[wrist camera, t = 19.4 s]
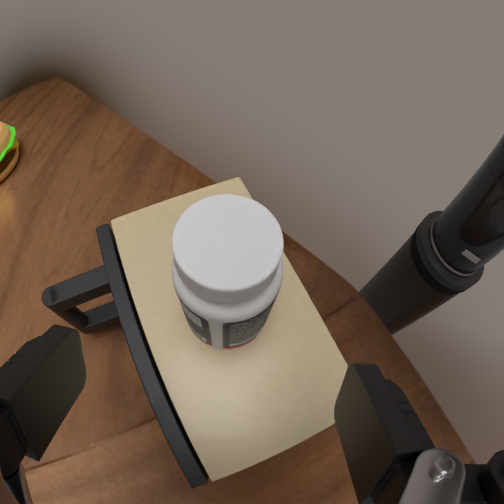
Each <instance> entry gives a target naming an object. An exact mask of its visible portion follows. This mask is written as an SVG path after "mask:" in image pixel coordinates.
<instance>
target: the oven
mask: <svg viewBox="0 0 504 504" xmlns="http://www.w3.org/2000/svg"><path fill="white" fill-rule="evenodd" d="M221 194H233V195H239V196H243V197H247V198H250V199H252V197H251V196H250V194H249V193H248V191H247V189H246V187H245V186H244V184H243V182H242V181H241V179H240V177H237V178H234V179H230V180H227V181H224V182H221V183H217V184H214V185H211V186H208V187H205V188H202V189H198V190H195V191H192V192H189V193H186V194H183V195H180V196H177V197H174V198H171V199H168V200H165V201H163V202H160V203H157V204H154V205H151V206H148V207H146V208H143V209H140V210H137V211H134V212H132V213H129V214H126V215H124V216H121V217H118V218H116V219H113V220H111V224H112V228H113V232H114V236H115V239H116V243H117V247H118V250H119V254H120V258H121V261H122V265H123V268H124V272H125V275H126V278H127V281H128V285H129V288H130V291H131V294H132V297H133V300H134V304H135V307H136V310H137V312H138V315H139V318H140V321H141V324H142V327H143V330H144V332H145V335H146V338H147V341H148V343H149V346H150V349H151V351H152V354H153V357H154V359H155V362H156V364H157V367H158V369H159V372H160V374H161V377H162V379H163V381H164V384H165V386H166V389H167V391H168V393H169V396H170V398H171V400H172V402H173V405H174V407H175V409H176V411H177V413H178V416H179V418H180V420H181V422H182V424H183V426H184V428H185V431H186V433H187V435H188V437H189V439H190V441H191V443H192V445H193V447H194V449H195V451H196V453H197V455H198V457H199V459H200V460H201V462H202V464H203V466H204V468H205V470H206V472H207V474H208V475H209V477H210V479H211V481H212V482H213V481H216V480H219V479H221V478H224V477H226V476H229V475H231V474H234V473H236V472H239V471H241V470H243V469H246V468H248V467H250V466H253V465H255V464H257V463H259V462H262V461H264V460H266V459H268V458H270V457H272V456H275V455H277V454H279V453H281V452H283V451H285V450H287V449H289V448H291V447H293V446H295V445H297V444H299V443H300V442H302V441H304V440H306V439H308V438H310V437H312V436H313V435H315V434H317V433H319V432H321V431H322V430H324V429H326V428H328V427H329V426H331V425H333V424H334V423H335V420H334V406H335V402H336V399H337V396H338V394H339V391H340V388H341V385H342V382H343V379H344V376H345V373H346V371H347V368H348V365H347V363H346V362H345V360H344V358H343V356H342V354H341V352H340V351H339V349H338V347H337V345H336V343H335V342H334V340H333V338H332V336H331V334H330V333H329V331H328V329H327V327H326V325H325V324H324V322H323V320H322V318H321V316H320V315H319V313H318V311H317V309H316V308H315V306H314V304H313V302H312V300H311V299H310V297H309V295H308V293H307V292H306V290H305V288H304V286H303V285H302V283H301V281H300V279H299V278H298V276H297V274H296V272H295V271H294V269H293V267H292V265H291V264H290V262H289V260H288V259H287V257H286V255H285V253H284V252H283V254H282V261H283V279H282V284H281V287H280V290H279V293H278V295H277V297H276V300H275V302H274V304H273V307H272V309H271V311H270V314H269V316H268V318H267V321H266V323H265V325H264V327H263V329H262V330H261V332H260V333H259V335H258V336H257V337H256V338H255V339H254V340H253V341H251V342H250V343H248V344H246V345H244V346H242V347H239V348H235V349H219V348H215V347H212V346H209V345H207V344H205V343H204V342H202V341H201V340H200V339H198V338H197V337H196V336H195V334H194V333H193V332H192V330H191V328H190V327H189V324H188V322H187V320H186V317H185V314H184V312H183V309H182V306H181V304H180V301H179V298H178V295H177V293H176V290H175V288H174V284H173V279H172V260H173V251H172V235H173V230H174V227H175V225H176V223H177V221H178V219H179V218H180V216H181V215H182V214H183V213H184V212H185V210H187V209H188V208H189V207H190V206H191V205H193V204H195V203H196V202H198V201H199V200H202V199H204V198H207V197H210V196H215V195H221ZM252 200H253V199H252Z"/></svg>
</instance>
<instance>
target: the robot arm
mask: <svg viewBox="0 0 504 504" xmlns="http://www.w3.org/2000/svg"><path fill="white" fill-rule="evenodd" d="M429 241H430V245H431V248H432V250H433V253H434V254H435V256H436V258H437V259H438V261H439V262H440V263H441V265H442V266H443V267H444V268H445V269H446V270H448V271H449V272H450V273H452V274H454V275H456V276H458V277H469V276H471V275H473V274H474V273H475V272H477V270H478V269H479V268H481V267H482V266H483V265H485V264H486V263H487V262H488V261H490V260H491V259H492V258H493V257H495V256H496V255H497V254H498V253H500V252H501V251H502V250H503V249H504V135H503V137H502V138H501V139H500V141H499V142H498V143H497V145H496V147H495V148H494V149H493V150H492V152H491V153H490V155H489V156H488V157H487V158H486V160H485V161H484V163H483V164H482V165H481V166H480V168H479V169H478V170H477V172H476V173H475V174H474V176H473V177H472V178H471V179H470V180H469V182H468V183H467V184H466V185H465V187H464V188H463V189H462V190H461V191H460V193H459V194H458V195H457V196H456V197H455V199H454V200H453V201H452V202H451V203H450V204H449V206H448V207H447V208H446V209H445V210H444V211H443V213H442V214H441V215H440V216H439V217H438V218H436V219H435V221H434V222H433V223H432V224H431V226H430V229H429ZM85 381H86V369H85V363H84V358H83V352H82V346H81V340H80V335H79V332H78V331H77V330H76V329H72V328H68V327H64V326H60V325H56V324H55V325H53V326H51V327H50V328H49V329H48V330H47V331H46V332H45V333H44V334H43V335H42V336H38V337H36V338H34V339H32V340H30V341H28V342H26V343H25V344H24V345H23V346H22V347H21V348H20V349H19V350H18V351H17V352H16V354H14V355H13V356H12V357H11V358H10V359H9V362H8V361H7V362H6V363H5V364H4V365H3V366H2V367H1V368H0V504H33V502H32V499H31V495H30V491H29V487H28V483H27V479H26V475H25V470H24V467H23V464H22V462H21V461H22V460H23V458H24V456H28V457H30V458H32V459H34V460H36V461H38V462H39V461H40V459H41V457H42V455H43V454H44V452H45V450H46V449H47V447H48V445H49V443H50V442H51V440H52V438H53V437H54V435H55V433H56V432H57V430H58V428H59V427H60V425H61V423H62V422H63V420H64V418H65V417H66V415H67V413H68V412H69V410H70V409H71V407H72V405H73V404H74V402H75V401H76V399H77V397H78V396H79V394H80V393H81V391H82V389H83V387H84V385H85ZM334 420H335V424H336V427H337V431H338V434H339V437H340V441H341V444H342V448H343V451H344V454H345V458H346V461H347V465H348V468H349V472H350V475H351V478H352V482H353V486H354V489H355V493H356V496H357V500H358V503H359V504H504V450H502V451H499V452H497V453H495V454H494V456H493V457H492V458H491V459H490V460H489V462H488V463H487V464H479V465H478V464H463V462H462V460H461V459H460V458H459V457H458V456H457V455H456V454H454V453H453V452H451V451H448V450H446V449H440V448H435V446H434V444H433V442H432V440H431V439H430V437H429V435H428V433H427V432H426V430H425V428H424V426H423V425H422V423H421V421H420V419H419V418H418V416H417V414H416V413H414V409H413V407H412V406H411V404H409V401H408V399H407V397H406V396H405V394H404V392H403V391H402V389H401V388H399V387H398V386H397V385H396V384H395V383H393V382H392V381H391V380H390V379H389V380H385V378H384V376H383V375H382V373H381V371H380V369H379V368H378V366H377V365H376V364H350V365H349V366H348V368H347V371H346V373H345V376H344V379H343V382H342V385H341V388H340V391H339V394H338V396H337V399H336V402H335V406H334Z"/></svg>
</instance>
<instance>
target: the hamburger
mask: <svg viewBox="0 0 504 504" xmlns="http://www.w3.org/2000/svg"><path fill="white" fill-rule="evenodd" d="M15 136H16V130H15V128H14V127H11V126H9V125H7V124H5V123H3V122H0V182H1V181H3V180H4V179H5V178H6V177H7V176H8V175H9V174H10V172H11V171H12V170H13V168H14V167H15V165H16V163H17V160H18V156H19V143H18V140H17V139H16V137H15Z"/></svg>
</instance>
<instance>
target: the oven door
mask: <svg viewBox="0 0 504 504" xmlns="http://www.w3.org/2000/svg"><path fill="white" fill-rule="evenodd" d="M96 231H97V236H98V241H99V245H100V249H101V254H102V258H103V262H104V265H103V266H100V267H98V268H95V269H93V270H90V271H88V272H85V273H82V274H80V275H77V276H75V277H72V278H70V279H68V280H65V281H63V282H60V283H58V284H55V285H53V286H50V287H48V288H46V289H45V290H44V291H43V293H42V302H43V304H44V305H45V306H47V307H48V308H49V309H51V310H52V311H53V312H55V313H56V314H57V315H59V316H60V317H61V318H63V319H64V320H65V321H67V322H68V323H70V324H71V325H72V326H74V327H75V328H77V329H78V330H79V331H81V332H82V333H84V334H89V333H92V332H95V331H98V330H100V329H103V328H106V327H108V326H111V325H114V324H116V323H119V322H121V325H122V328H123V332H124V335H125V338H126V341H127V343H128V346H129V349H130V352H131V355H132V358H133V360H134V363H135V366H136V369H137V371H138V374H139V377H140V379H141V382H142V384H143V387H144V389H145V392H146V394H147V397H148V399H149V401H150V404H151V406H152V409H153V411H154V413H155V415H156V418H157V420H158V422H159V424H160V427H161V429H162V431H163V433H164V435H165V437H166V440H167V442H168V444H169V446H170V448H171V450H172V452H173V454H174V456H175V458H176V460H177V462H178V464H179V466H180V468H181V470H182V472H183V473H184V475H185V477H186V479H187V481H188V483H189V484H190V486H191V488H194V487H197V486H200V485H203V484H206V483H207V482H208V477H209V475H208V474H207V472H206V470H205V468H204V466H203V464H202V462H201V460H200V459H199V457H198V455H197V453H196V451H195V449H194V447H193V445H192V443H191V441H190V439H189V437H188V435H187V433H186V431H185V428H184V426H183V424H182V422H181V420H180V418H179V416H178V413H177V411H176V409H175V407H174V405H173V402H172V400H171V398H170V396H169V393H168V391H167V389H166V386H165V384H164V381H163V379H162V377H161V374H160V372H159V369H158V367H157V364H156V362H155V359H154V357H153V354H152V351H151V349H150V346H149V343H148V341H147V338H146V335H145V332H144V330H143V327H142V324H141V321H140V318H139V315H138V312H137V310H136V307H135V304H134V300H133V297H132V294H131V291H130V288H129V285H128V281H127V278H126V275H125V272H124V268H123V265H122V261H121V258H120V254H119V250H118V247H117V243H116V239H115V236H114V234H113V232H112V230H111V228H110V226H109V224H108V223H107V224H104V225H102V226H99V227H97V228H96ZM111 292H112V296H113V299H114V301H112V302H109V303H107V304H104V305H101V306H99V307H96V308H94V309H91V310H88V311H86V312H82V311H81V310H79V309H78V308H77V307H76V306H77V305H79V304H82V303H85V302H87V301H90V300H92V299H95V298H98V297H100V296H103V295H105V294H108V293H111Z"/></svg>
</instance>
